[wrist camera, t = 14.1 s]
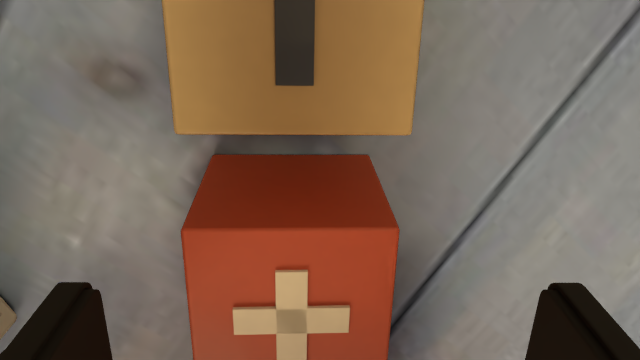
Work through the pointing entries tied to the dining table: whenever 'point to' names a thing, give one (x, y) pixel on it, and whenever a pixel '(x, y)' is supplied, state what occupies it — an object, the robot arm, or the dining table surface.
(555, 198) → the dining table surface
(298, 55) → the line block
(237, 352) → the red cross cube
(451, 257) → the dining table surface
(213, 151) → the dining table surface
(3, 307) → the small box
